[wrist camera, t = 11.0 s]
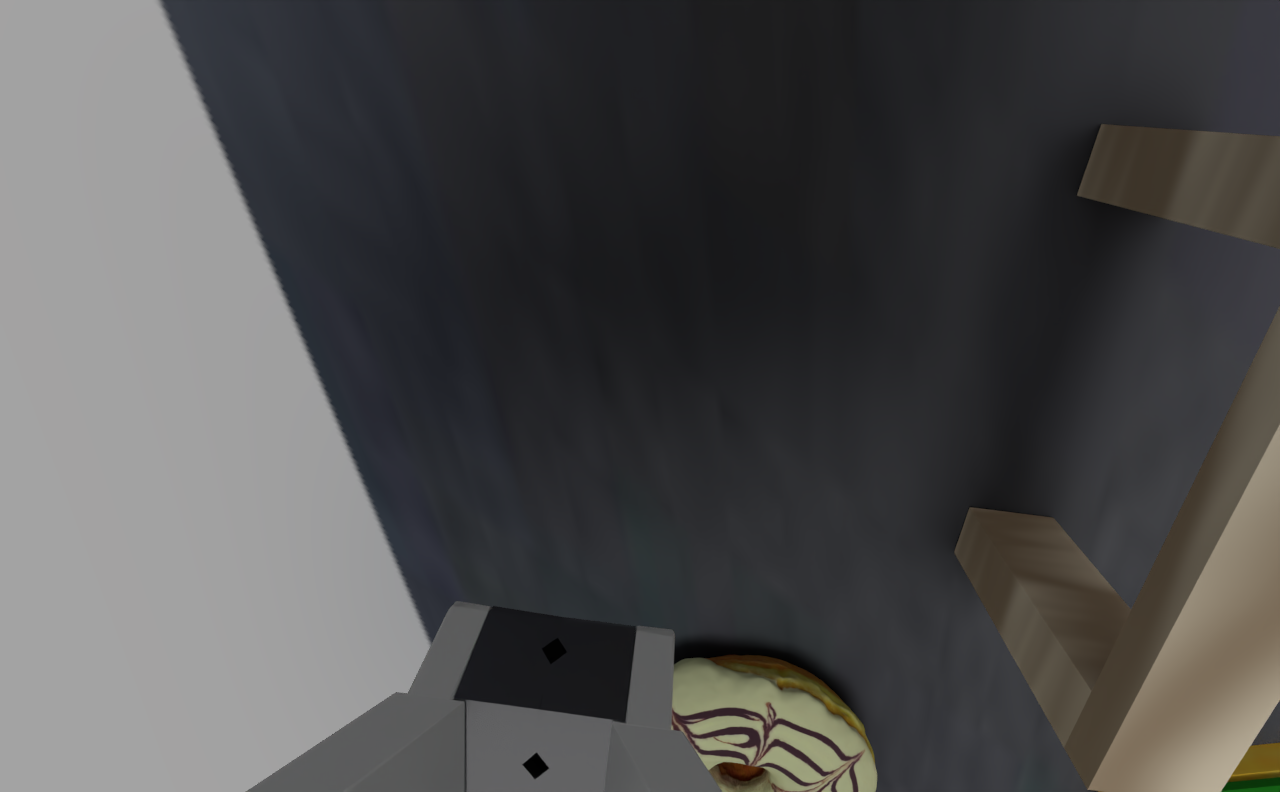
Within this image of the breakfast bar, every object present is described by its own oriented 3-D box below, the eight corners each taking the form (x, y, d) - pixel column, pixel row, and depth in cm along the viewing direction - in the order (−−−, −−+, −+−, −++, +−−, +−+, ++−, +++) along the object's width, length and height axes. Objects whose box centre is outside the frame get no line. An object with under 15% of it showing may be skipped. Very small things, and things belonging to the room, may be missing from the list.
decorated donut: (648, 604, 28) (641, 674, 25) (899, 666, 29) (927, 744, 25) (593, 774, 33) (581, 854, 29) (813, 828, 33) (827, 914, 29)
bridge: (953, 552, 26) (1087, 789, 17) (1101, 124, 20) (1425, 146, 11) (1035, 562, 26) (1211, 806, 17) (1207, 135, 20) (1620, 168, 11)
